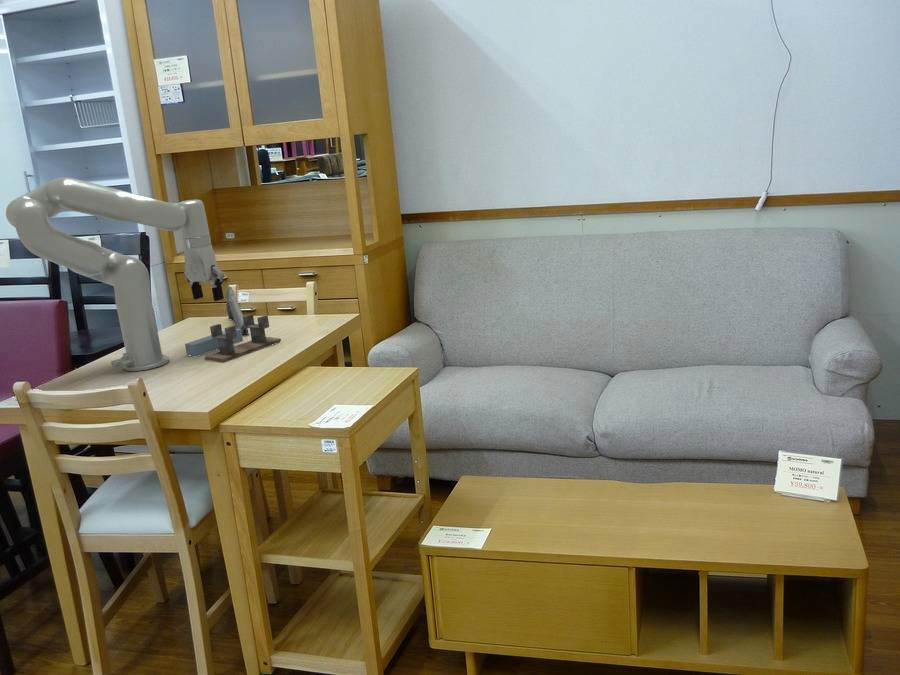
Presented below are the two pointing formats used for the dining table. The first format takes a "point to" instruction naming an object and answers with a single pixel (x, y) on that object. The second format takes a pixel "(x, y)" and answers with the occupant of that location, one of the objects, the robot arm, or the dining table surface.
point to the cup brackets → (226, 341)
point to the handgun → (234, 310)
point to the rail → (207, 344)
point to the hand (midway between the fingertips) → (208, 299)
